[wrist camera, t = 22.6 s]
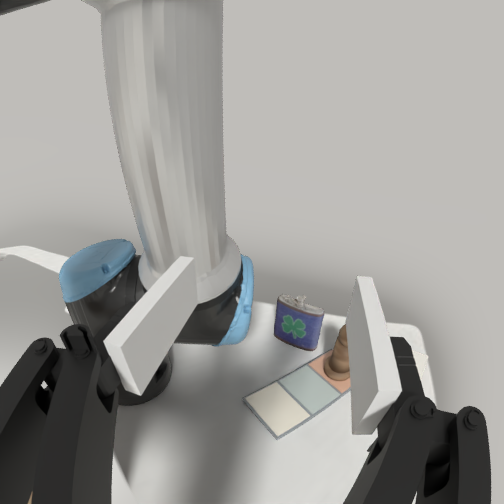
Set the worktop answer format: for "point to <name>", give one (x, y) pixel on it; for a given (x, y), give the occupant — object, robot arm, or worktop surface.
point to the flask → (298, 322)
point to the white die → (420, 362)
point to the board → (296, 397)
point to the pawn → (338, 359)
